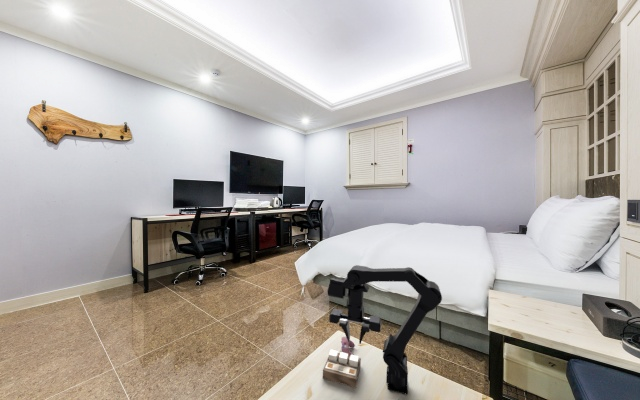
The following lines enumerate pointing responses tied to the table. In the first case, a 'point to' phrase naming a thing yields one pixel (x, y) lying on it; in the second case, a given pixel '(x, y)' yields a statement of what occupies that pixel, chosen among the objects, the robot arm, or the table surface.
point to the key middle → (343, 358)
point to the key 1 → (333, 355)
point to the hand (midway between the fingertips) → (354, 342)
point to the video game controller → (347, 345)
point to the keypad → (341, 372)
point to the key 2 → (354, 361)
